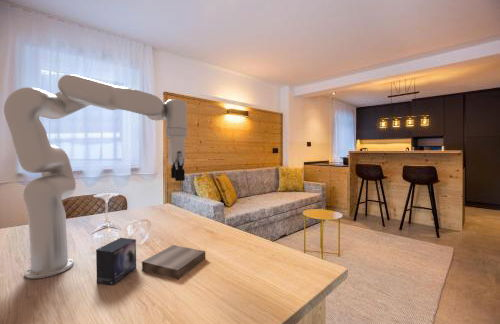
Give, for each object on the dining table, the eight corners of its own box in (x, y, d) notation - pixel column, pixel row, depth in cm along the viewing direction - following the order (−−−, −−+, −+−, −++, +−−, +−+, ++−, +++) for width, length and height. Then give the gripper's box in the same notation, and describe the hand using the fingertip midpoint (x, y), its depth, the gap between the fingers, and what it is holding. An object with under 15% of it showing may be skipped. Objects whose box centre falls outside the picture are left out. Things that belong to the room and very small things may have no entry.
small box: (114, 286, 70) (113, 251, 70) (95, 283, 72) (94, 249, 71) (137, 268, 81) (136, 238, 80) (121, 267, 82) (120, 237, 82)
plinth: (142, 270, 79) (141, 261, 79) (173, 252, 93) (173, 245, 93) (178, 279, 74) (177, 270, 73) (205, 259, 87) (205, 251, 87)
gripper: (163, 134, 95) (164, 177, 96) (169, 131, 79) (170, 182, 80) (182, 135, 98) (183, 176, 99) (191, 132, 83) (192, 181, 84)
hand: (177, 179), depth 90 cm, fingers open, 9 cm apart
